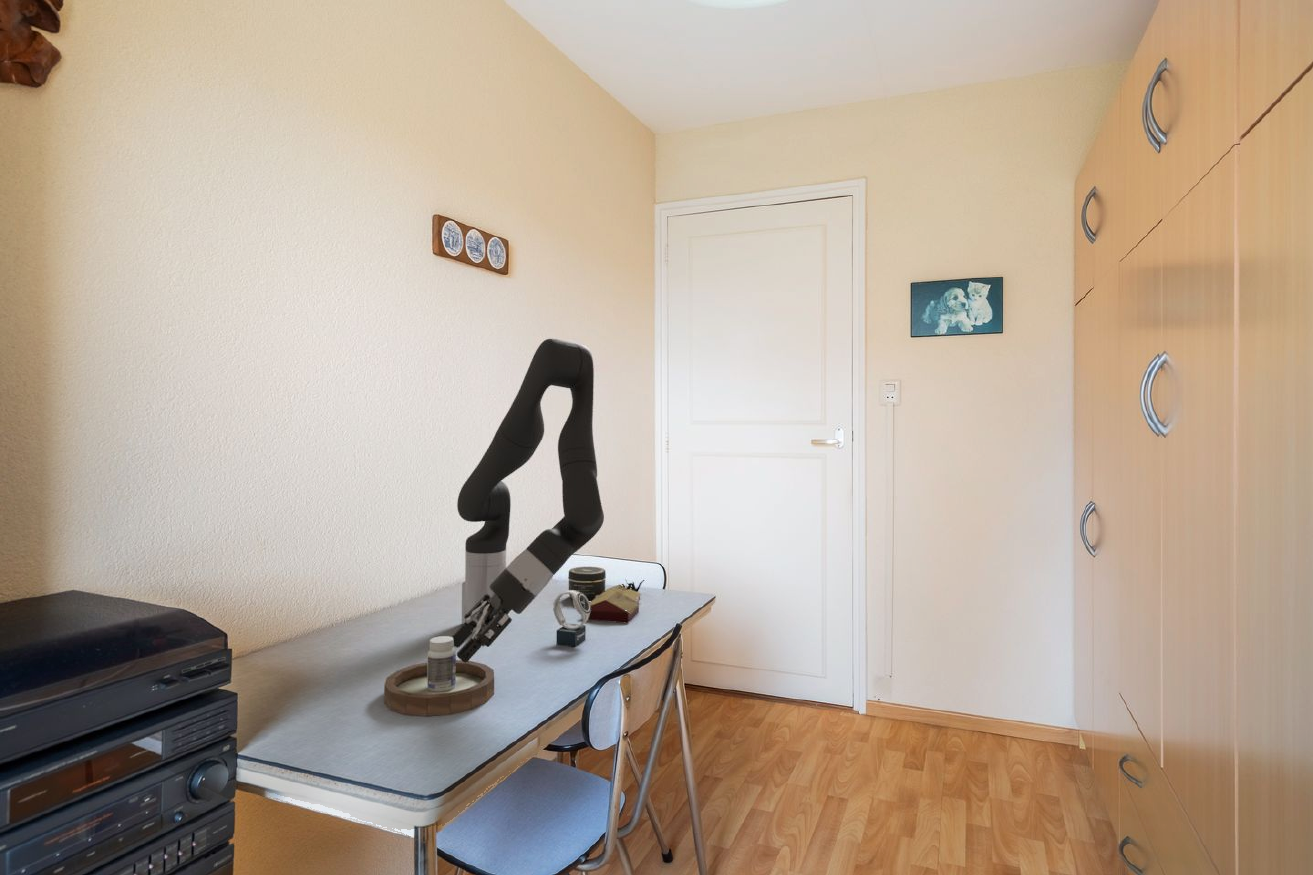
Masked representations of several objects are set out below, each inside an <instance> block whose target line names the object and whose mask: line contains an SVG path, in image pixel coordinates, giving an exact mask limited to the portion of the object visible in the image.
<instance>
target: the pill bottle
mask: <svg viewBox="0 0 1313 875" xmlns="http://www.w3.org/2000/svg"><path fill="white" fill-rule="evenodd" d="M426 655H427V659H426V660H427V661H426V662H427V687H428V689H429V690H431V691H434V692H441V691H447V690H450V689H453V688H454V687H455V684H456V660H457V659H456V658H457V657H456V656H457V652H456V649H455V647H454V639H453V638H452V636H448V635H445V636H444V635H441V636H435V637H432V638H430V640H429V650H428V652H427V654H426Z"/></svg>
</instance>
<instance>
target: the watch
mask: <svg viewBox="0 0 1313 875" xmlns="http://www.w3.org/2000/svg"><path fill="white" fill-rule="evenodd" d="M569 594H571V597H572V599H573V600H572V599H571V600H572V602H573V606H574V609H575V610H576V612H577V613H578V614H579V615H580V616H581V619H582V621H581V623H580V624H576V623H568V622H567V621H566V617H565V616H564V614H563V611H562V607H561V606H560V605H561V604H560V600H561V599H562V597H563V595H569ZM552 610H553V614H554V617H555V619H556V621H557V623H558V624H559V625H560V626H561V627H559V628H558V629H556V645H557V646H563V647H570V648H571V647H572V648H576V647H577V646H579V645H580V644H582V643H583V642H584V641H586V633H587V632H586V631H587V630H586V628H587V627H586V626H587V625H585V624H586V623H587V622H588V618H589V615H590V612H591V606H590V602H589V600H588V599H587V597H586V596H585V595H584V594H583V593H580V592H578V591H575V590H569V589H568V590H566V591H564V592H562V593H560V594H558V595H557V597H556V598H555V599H554V601H553V608H552Z"/></svg>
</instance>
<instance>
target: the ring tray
mask: <svg viewBox="0 0 1313 875" xmlns="http://www.w3.org/2000/svg"><path fill="white" fill-rule="evenodd" d="M383 693H384V694H383V695H384V696H383V699H384V705H386V707H388V709H389V710H391V711H393V712H396V713H400V714H403V715H405V714H408V715H407V716H416V715H419V716H418V717H435V715H437V716H445V715H453V714H454V715H455V714H457V713H461V712H465V711H470V710H473V709H475V708H477V707H479V706H481V705H484V704H486V703H487V702H488V701H490V700H491V698H493V697H494V695H495V672H494V669H493V668H491V667H490V666H488V665H487V664H486V663H485V664H484V663H480V662H477V661H473V660H469V661H468V662H466V663H465V662H463V661H462V660H461V659H456V684H455V687H454V688H453V689H450V690H447V691H441V692H434V691H431V690H429V689H428V687H427V661H426V662H421V663H417V664H416V663H415V664H412V665H410V666H406V667H403V668H401V669H398V670H395V671H394V672H393V673H392V674H390V675H389V676H387V677H386V678H385V682H384V692H383ZM420 715H421V716H420Z"/></svg>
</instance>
